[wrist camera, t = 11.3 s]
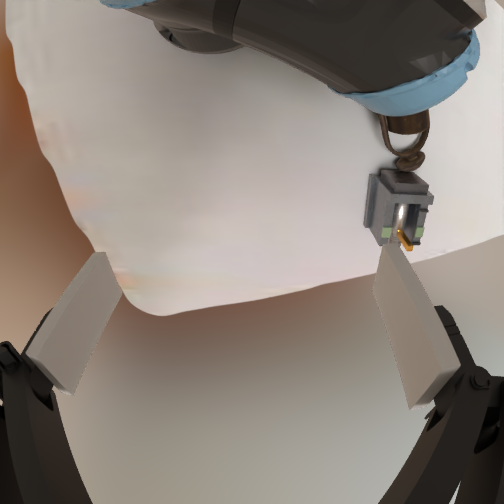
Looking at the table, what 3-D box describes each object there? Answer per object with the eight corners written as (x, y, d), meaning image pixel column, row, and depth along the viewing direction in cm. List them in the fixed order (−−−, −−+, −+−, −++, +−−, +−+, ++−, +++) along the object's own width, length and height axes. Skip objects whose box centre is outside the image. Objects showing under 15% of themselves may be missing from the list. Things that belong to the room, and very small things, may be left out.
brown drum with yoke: (452, 86, 23) (392, 70, 22) (449, 183, 29) (392, 184, 28) (417, 85, 29) (359, 75, 28) (416, 169, 35) (361, 170, 34)
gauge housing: (369, 174, 36) (387, 193, 30) (415, 176, 35) (437, 196, 30) (363, 224, 41) (377, 250, 35) (406, 224, 40) (424, 249, 34)
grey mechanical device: (381, 169, 34) (404, 191, 28) (412, 171, 34) (438, 193, 27) (372, 234, 40) (389, 265, 34) (401, 234, 39) (421, 263, 33)
